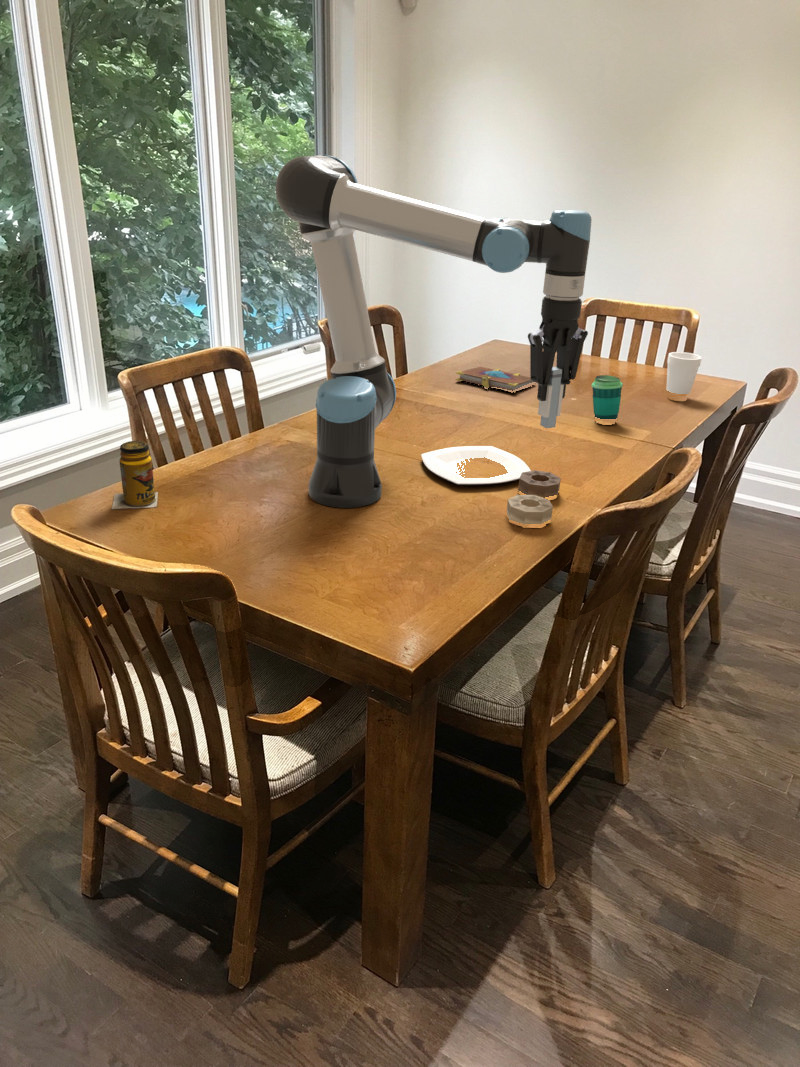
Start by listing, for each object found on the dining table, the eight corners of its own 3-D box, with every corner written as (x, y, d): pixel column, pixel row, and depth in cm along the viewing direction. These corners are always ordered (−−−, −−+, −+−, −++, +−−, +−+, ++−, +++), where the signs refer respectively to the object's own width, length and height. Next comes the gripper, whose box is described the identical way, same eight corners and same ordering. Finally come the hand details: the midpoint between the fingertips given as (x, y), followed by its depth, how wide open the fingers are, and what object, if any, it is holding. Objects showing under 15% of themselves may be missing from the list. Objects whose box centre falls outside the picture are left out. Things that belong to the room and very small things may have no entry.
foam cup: (696, 398, 248) (705, 355, 242) (688, 405, 240) (697, 361, 235) (665, 392, 252) (673, 350, 246) (656, 399, 245) (664, 356, 239)
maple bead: (534, 532, 158) (536, 515, 156) (499, 519, 163) (500, 502, 161) (557, 520, 163) (559, 503, 162) (522, 507, 168) (524, 491, 167)
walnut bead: (534, 504, 170) (536, 488, 169) (511, 489, 177) (512, 474, 175) (565, 497, 174) (568, 482, 172) (542, 483, 180) (543, 468, 179)
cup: (605, 428, 218) (611, 384, 212) (580, 420, 223) (586, 377, 218) (623, 423, 223) (630, 379, 217) (598, 415, 228) (604, 372, 223)
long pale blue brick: (539, 425, 169) (546, 367, 164) (548, 423, 170) (555, 366, 165) (546, 428, 167) (553, 370, 162) (555, 427, 168) (562, 369, 163)
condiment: (156, 507, 161) (151, 450, 156) (111, 510, 160) (104, 452, 154) (158, 493, 168) (152, 437, 163) (114, 495, 166) (107, 439, 161)
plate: (408, 459, 192) (408, 451, 191) (494, 449, 200) (495, 442, 200) (452, 496, 173) (452, 488, 172) (545, 484, 181) (546, 475, 181)
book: (468, 374, 267) (470, 359, 265) (536, 389, 254) (538, 373, 252) (441, 381, 255) (442, 365, 253) (510, 398, 242) (512, 381, 240)
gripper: (542, 302, 151) (529, 424, 161) (606, 298, 158) (589, 415, 168) (518, 295, 157) (507, 414, 167) (581, 291, 164) (566, 405, 174)
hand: (548, 414), depth 168 cm, fingers closed on long pale blue brick, 2 cm apart
